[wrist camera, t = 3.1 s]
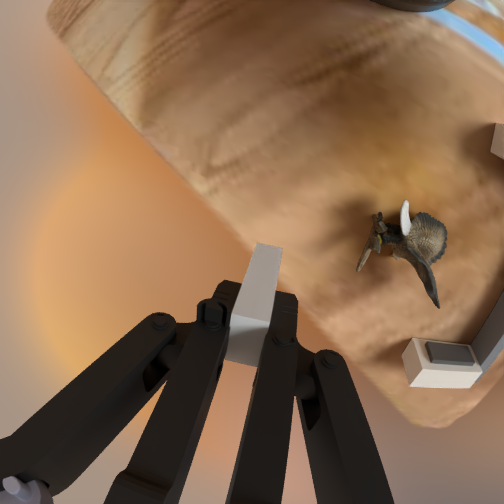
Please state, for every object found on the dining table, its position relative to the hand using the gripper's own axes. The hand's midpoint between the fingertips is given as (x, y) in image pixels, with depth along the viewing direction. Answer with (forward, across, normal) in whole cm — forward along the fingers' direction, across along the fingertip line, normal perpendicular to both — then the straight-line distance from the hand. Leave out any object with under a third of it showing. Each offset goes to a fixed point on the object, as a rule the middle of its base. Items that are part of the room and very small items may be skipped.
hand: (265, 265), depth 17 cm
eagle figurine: (+9, +12, +1) cm, 15 cm away
